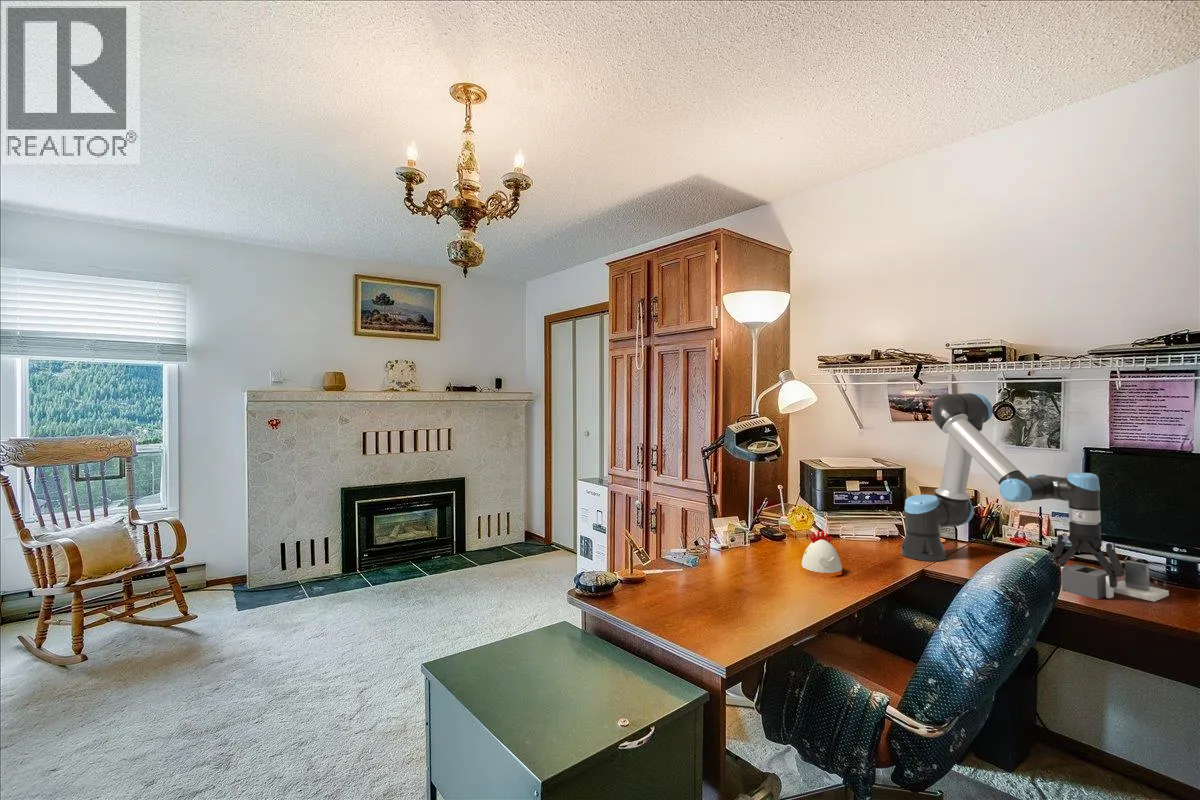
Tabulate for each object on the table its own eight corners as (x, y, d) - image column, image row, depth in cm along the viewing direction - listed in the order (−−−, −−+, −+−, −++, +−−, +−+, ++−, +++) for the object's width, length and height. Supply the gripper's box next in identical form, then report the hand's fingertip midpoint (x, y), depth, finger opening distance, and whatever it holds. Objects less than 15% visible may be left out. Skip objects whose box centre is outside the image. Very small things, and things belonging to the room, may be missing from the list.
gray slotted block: (1062, 590, 175) (1061, 567, 175) (1076, 585, 179) (1075, 563, 179) (1097, 599, 167) (1096, 575, 167) (1111, 593, 170) (1111, 570, 170)
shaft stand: (1107, 590, 173) (1106, 560, 173) (1122, 585, 178) (1121, 555, 178) (1154, 601, 164) (1153, 570, 163) (1168, 595, 168) (1167, 564, 168)
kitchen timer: (796, 566, 207) (795, 526, 207) (832, 565, 207) (831, 525, 207) (810, 578, 194) (808, 536, 194) (848, 577, 193) (847, 535, 193)
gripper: (1035, 517, 181) (1037, 583, 181) (1127, 531, 160) (1129, 605, 160) (1047, 514, 185) (1049, 579, 185) (1138, 527, 164) (1141, 600, 164)
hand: (1086, 591), depth 173 cm, fingers open, 11 cm apart
